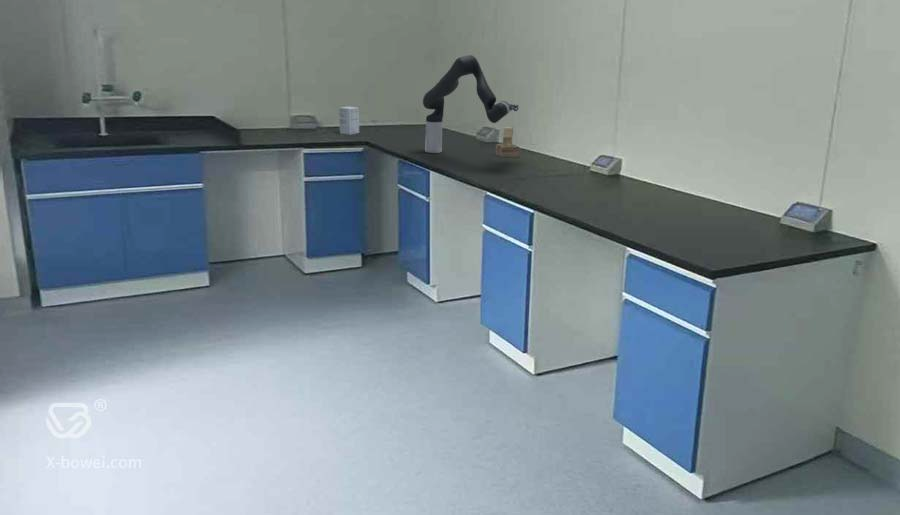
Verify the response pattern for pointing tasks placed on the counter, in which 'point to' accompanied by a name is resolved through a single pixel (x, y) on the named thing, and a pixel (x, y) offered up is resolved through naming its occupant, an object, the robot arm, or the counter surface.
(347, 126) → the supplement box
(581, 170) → the counter surface
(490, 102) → the robot arm
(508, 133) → the oak block
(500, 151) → the walnut base
